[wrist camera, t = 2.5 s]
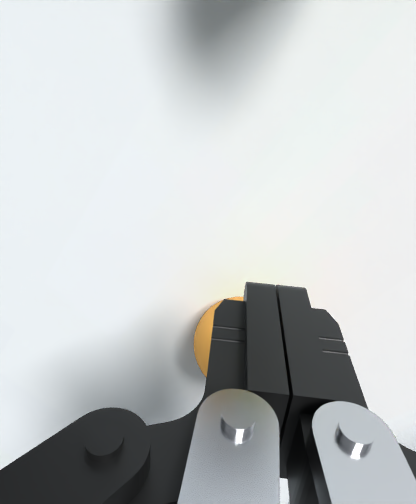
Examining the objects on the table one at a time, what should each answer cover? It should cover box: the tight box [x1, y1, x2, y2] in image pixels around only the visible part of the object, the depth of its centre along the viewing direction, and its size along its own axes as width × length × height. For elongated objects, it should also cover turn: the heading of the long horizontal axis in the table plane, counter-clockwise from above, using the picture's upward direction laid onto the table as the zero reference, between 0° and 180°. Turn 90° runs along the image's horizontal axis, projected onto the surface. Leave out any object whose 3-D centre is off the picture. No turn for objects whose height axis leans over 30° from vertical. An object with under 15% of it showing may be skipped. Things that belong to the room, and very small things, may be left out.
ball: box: [194, 297, 244, 378], centre depth 23 cm, size 6×6×6 cm
